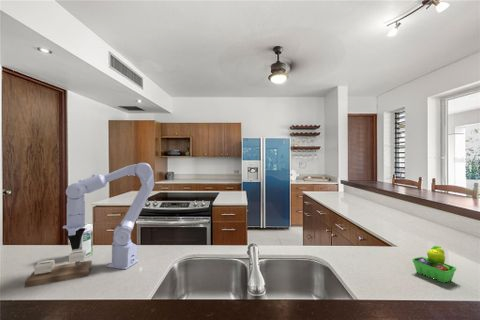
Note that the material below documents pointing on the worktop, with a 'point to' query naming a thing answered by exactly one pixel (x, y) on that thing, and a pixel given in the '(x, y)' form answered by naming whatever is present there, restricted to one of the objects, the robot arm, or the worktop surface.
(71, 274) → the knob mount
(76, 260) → the white square block
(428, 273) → the fruit basket
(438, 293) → the worktop surface
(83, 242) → the syrup box
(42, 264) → the knob outer
